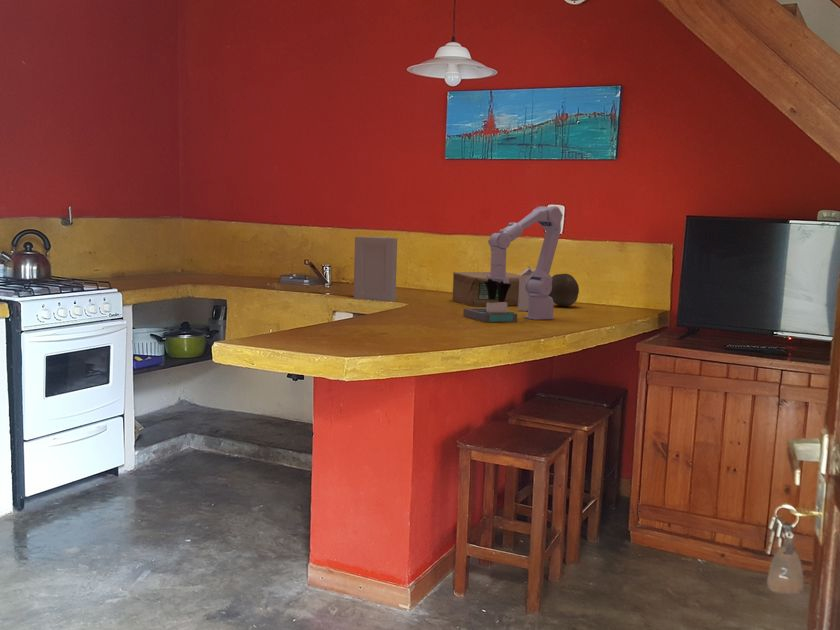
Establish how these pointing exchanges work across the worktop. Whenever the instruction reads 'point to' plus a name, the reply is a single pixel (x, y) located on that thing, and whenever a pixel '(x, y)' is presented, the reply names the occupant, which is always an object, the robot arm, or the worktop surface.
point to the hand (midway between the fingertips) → (496, 300)
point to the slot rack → (489, 315)
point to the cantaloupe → (564, 290)
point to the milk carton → (524, 290)
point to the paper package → (481, 289)
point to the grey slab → (496, 307)
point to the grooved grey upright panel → (375, 268)
